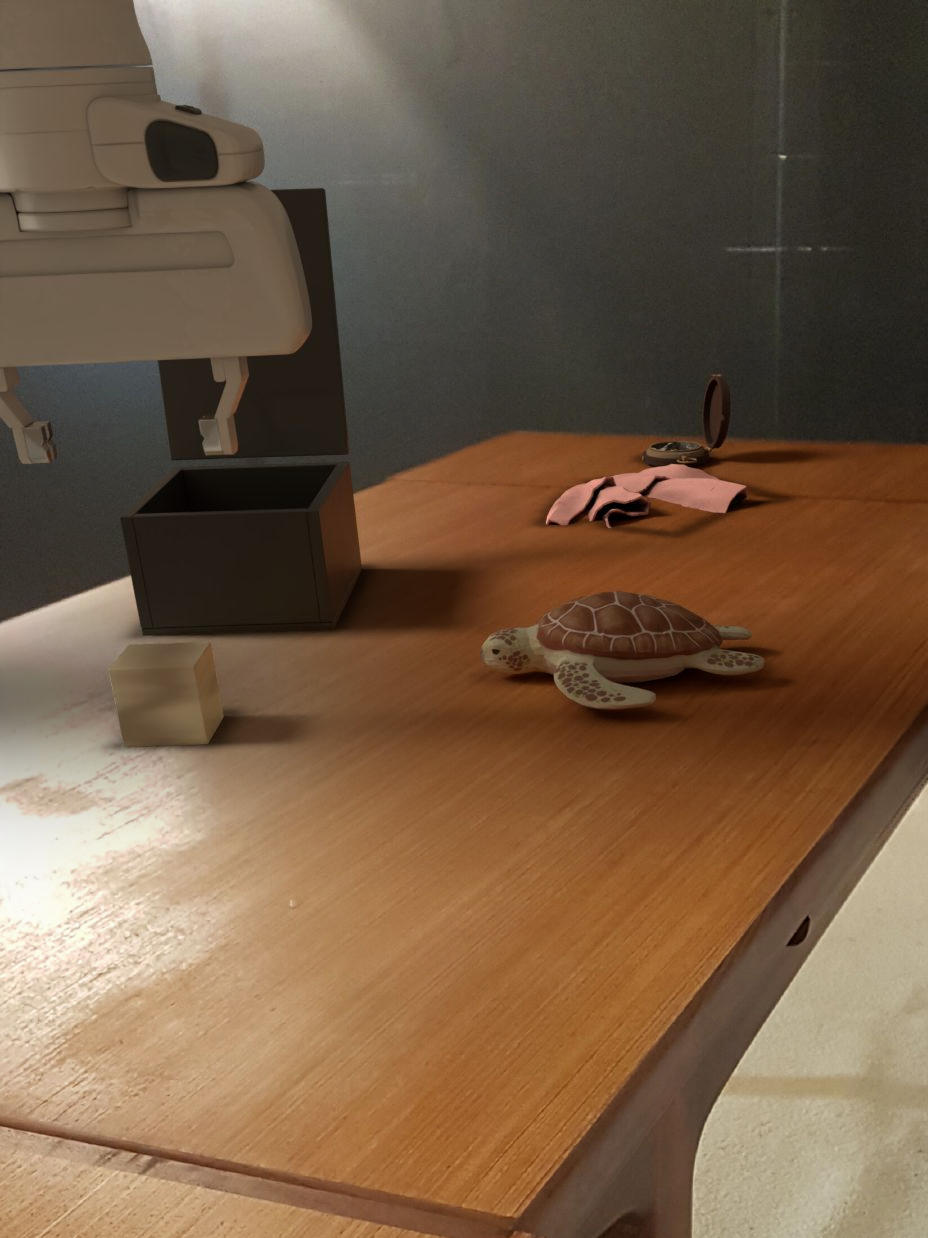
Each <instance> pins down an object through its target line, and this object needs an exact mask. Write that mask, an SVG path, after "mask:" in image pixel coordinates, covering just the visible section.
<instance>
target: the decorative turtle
mask: <svg viewBox="0 0 928 1238" xmlns="http://www.w3.org/2000/svg"><path fill="white" fill-rule="evenodd" d="M752 635H753V632H752V631H750V629H748V628H747V627H743V626H739V625H721V624H720V625H719V624H711V623H710V622H709V621H707V619H705V618H703V617H702V616H700V615H698V614H696V613H695V612H692V611H691V610H689V609H688V608H685V607H683V606H682V605H680V604H677V603H675V602H672V601H669V600H666V599H662V598H658V597H655V596H651V595H648V594H641V593H635V592H634V593H633V592H628V591H621V590H618V591H615V590H614V591H602V592H599V593H595V594H592V595H588V596H587V595H586V596H580V597H578V598H574V599H571V600H569V601H567V602H564V603H562V604H560V605H558V606H557V607H555V608H554V609H552V610H550V611H547V612H545V613H543V615H542V616H540V617H539V618H538V619H537V620H536V622H535V624H534V625H531V626H528V627H509V628H503V629H500V630H498V631H495V632H492V633H491V634H490V635H489V636H488V637H487V639H486V640H485V641H484V643H483V644H482V645H481V647H480V650H479V658H480V660H481V663H483V664H484V665H485V666H486V667H488V668H489V669H490V670H491V671H495V672H497V673H501V674H513V675H516V674H517V675H519V674H520V675H521V674H522V675H524V674H527V673H533V672H538V673H545V674H546V673H547V674H549V675H552V676H553V680H554V684H555V685H556V688H557V689H558V690H559V691H560V692H561V693H562V694H563V695H564V696H566V697H567V698H568V699H569V700H570V701H573V702H575V703H577V704H579V705H581V706H583V707H586V708H591V709H595V710H596V709H597V710H624V709H636V708H637V709H639V708H645V707H648V706H651V705H653V704H654V702H655V701H656V700H657V694H656V693H655V692H654V691H651V690H647V689H643V688H639V687H634V686H630V685H625V684H635V683H637V684H638V683H645V682H650V681H656V680H657V681H658V680H662V679H666V678H669V677H674V676H676V675H678V674H680V673H682V672H684V670H685V669H699V670H701V671H703V672H706V673H710V674H715V675H720V676H739V675H746V674H751V673H756V672H758V671H760V670H762V669H764V666H765V659H764V658H763V657H762V656H761V655H757V654H755V653H750V652H749V653H748V652H742V651H736V650H735V651H734V650H728V649H722V648H720V647H721V646H722V645H723V641H741V640H742V641H743V640H745V641H748V640H750V639H752Z"/></svg>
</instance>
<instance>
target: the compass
mask: <svg viewBox="0 0 928 1238" xmlns="http://www.w3.org/2000/svg"><path fill="white" fill-rule="evenodd" d="M731 402H732V401H731V392H730V387H729V383H728V381H727V379H726V378H725V377H724V376H723V374H719V373H718V374H711V377H710V378H709V380H708V383H707V385H706V389H705V392H704V398H703V406H702V433H703V440H704V442H705V445H706V446H705V447H704V445H702V444H701V443H699V442H695V441H688V440H687V441H686V440H671V441H668V440H667V441H661V442H655V443H653V444H651V445H650V446H649V447H648V448H647V449H646V450H644V451H643V453H642V456H641V459H642V461H643V462H644V463H645V464H647V465H649V466H653V467H661V466H668V465H670V464H678V465H686V466H687V467H694V466H695V467H696V466H700V465H703V464H705V463H706V462H708V460H709V459H710V453H711V452H712V451H713V450H714V449H720V448H721V447H722V445H723V444H724V442H725V440H726V438H727V435H728V432H729V428H730V427H729V426H730V420H731V419H730V418H731V405H732V403H731Z"/></svg>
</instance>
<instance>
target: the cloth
mask: <svg viewBox="0 0 928 1238" xmlns="http://www.w3.org/2000/svg"><path fill="white" fill-rule="evenodd" d="M747 487H748V486H747V485H745V484H739V483H735V482H731V481H726V480H721V479H719V478H718V477H716V476H715V475H711V474H709V473H707V472H705V471H703V470H702V469H700V468H694V467H691V466H688V467H687V466H686V465H678V464H670V465H668V466H661V467H658V466H654V467H649V468H645V469H643V470H641V471H639V472H626V473H619V474H615V475H612V476H604V477H602V478H596V479H591V480H590V481H589V482H587V483H580V484H577V485H575V486H572V487H570V488H569V489H567V490H565V491H564V492H563V494H561V496H560V497H558V498H557V499H556V501H554V503H553V505H552V506H551V508H550V510H549V512H548V513H547V516H546V521H545V525H547V526H548V525H549V524H551V523H556V524H558V525H559V526H568V525H569V523H570V521H571V520H572V519H574V518H575V517H576V516H577V515H579V514H580V513H582V512H583V511H584V510H585V509H586V507H587V506H589V508H588V509H587V510H586V513H587V516H588V519H589V520H588V522H594V520H595V518H596V516H597V513H598V512H599V511H600V512H601V518H602V520H603V522H604V523H605V526H606V527H607V528H608V529H612V525H611V520H610V518H609V517H610V516H612V515H625V516H630V517H637V516H647V515H649V512H650V509H651V505H652V501H651V500H649V499H648V498H651V499H656V500H660V501H663V502H667V503H670V504H674V505H675V504H676V505H681V507H683V508H684V507H685V508H691V509H697V510H699V511H704V512H709V513H717V514H718V513H720V514H726V513H727V511H728V509H729V507H730V506H732V505H734V504H736V503H739V504H740V503H741V502H743V501H744V500H746V499H747V498H748V488H747ZM644 496H646V497H644Z"/></svg>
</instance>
